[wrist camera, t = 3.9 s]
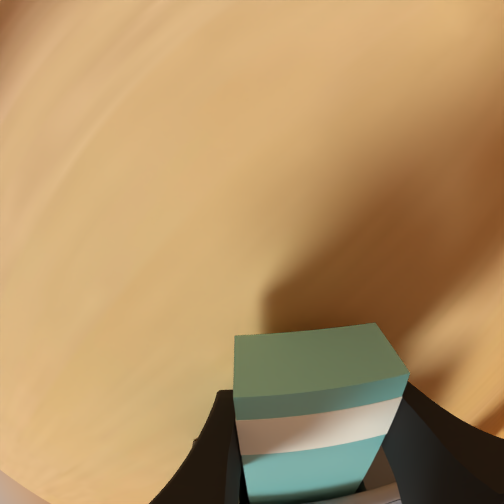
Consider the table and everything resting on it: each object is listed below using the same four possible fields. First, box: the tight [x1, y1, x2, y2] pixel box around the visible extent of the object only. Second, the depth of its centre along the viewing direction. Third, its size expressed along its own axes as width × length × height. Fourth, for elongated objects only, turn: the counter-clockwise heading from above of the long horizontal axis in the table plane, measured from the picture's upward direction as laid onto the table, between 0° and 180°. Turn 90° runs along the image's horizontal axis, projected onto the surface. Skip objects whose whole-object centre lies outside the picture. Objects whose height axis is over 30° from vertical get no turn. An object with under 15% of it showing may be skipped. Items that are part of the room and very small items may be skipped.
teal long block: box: [233, 323, 410, 504], centre depth 11 cm, size 5×16×3 cm, turn 3°
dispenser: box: [192, 441, 402, 504], centre depth 12 cm, size 11×10×6 cm
